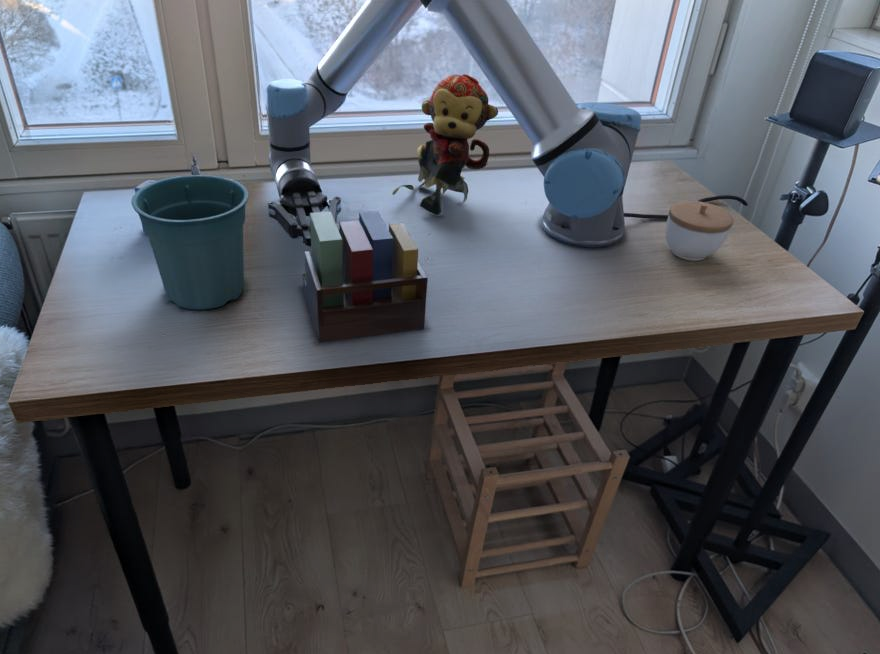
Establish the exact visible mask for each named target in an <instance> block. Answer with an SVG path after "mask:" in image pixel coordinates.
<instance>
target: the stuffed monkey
mask: <svg viewBox="0 0 880 654" xmlns="http://www.w3.org/2000/svg"><path fill="white" fill-rule="evenodd" d="M421 111H422V113H423V114H424V115H426V116H430V119H431V121H432V122H426V123H424V125H423V129H424V130H425V132H426V133H428V134H429V137H430V140H427V141H426V142H425V143H424V144H421V145H419V146H418V148H417V162H418V165H419V174H418V178H417V181H418V182H419V183H421V184H420V185H419V186H418V187H417V189H420V188H422V187H423V186H424V188H425V189H428V188H431V187H433V186H434V185H435V191H434V192H433V193H432V194H431V195H428V196H426V197H424V198H423V199H422V200H421V202H420V203H419V206H420V208H422V209H423V210H425V211H426V212H428V213H430V214H431V215H435V216H437V217H440V216H441V215H442V213H443V200H442V195H444V194H445V193H446V192H447V191H448V190H449V191H452V192H455V193H461V194H463V200H462V202H461V204H463V203H465V202H466V201H467V200H468V194H469V186H468V183H467V182H466V181H465V177H464V176H462V175H461V174H462V170H463V169H464V168H465V167H466V168H468V169H470V170H480V169H484V168H485V167H486V166H487V164H488V162H489V158H490V148H489V146H488V144H487V143H486V142H484V141H482V140H481V139H479V138H474V139H473V137H474V136H475V135H476V132H477V131H478V130H480V129H482V128H483V127H484V126H485V125H486V124H487V122H488V121H490V120H493V119H495V118H496V117H497V116H498V115H499V109H498V108H497V106H494V105H492V104H489V96H488V94H487V92H486V91H485V90H484V89H483V87H482V86H481V85H480V81H478V80H477V78H475V77H473V76H471V75H469V74H465V73H463V74H462V75H461V74H452V75H449V76H447V77H445V78H443V79H441V81H439V82H438V83H437V85H436V86H435V87H434V90H433V91H432V93H431V96H430V98H429V100H428V99H427V100H424V101H423V102H422V103H421ZM468 139H472V140H471V142H470V144H469V141H468ZM476 146H478V147H479V148H480V149H481V150H482V154H481V157H480V158H478V159H474V158H473V159H472V158H471V157H470V156H469V155H470V151H471V152H472V151H474V150H475V148H476ZM401 187H404V188H406V189H408V190H411V191H415V190H416V188H415V187H414V185H413V184H403V185H399V186H398V187H396V188H395V189H394V190H393V191H392V195H393V196H394V195H396V194H397V193H398V191H399V190H400V188H401ZM441 191H442V192H441Z"/></svg>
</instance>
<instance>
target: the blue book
mask: <svg viewBox="0 0 880 654" xmlns="http://www.w3.org/2000/svg"><path fill="white" fill-rule="evenodd" d="M358 220H359V222H360V224H361V226H362V228H363V230H364V232H365V234H366V236H367V238H368V240H369V242H370V244H371V247H372V249H373V281H377V280H386V279H392V253H393V238H392V236H391V234H390V232H389V227H388V226H387V225H386V223H385V221H384V219H383V217H382V215H381V214H380V212H379V210H374V211H361V212H358ZM383 297H391V288H384V289H375V290H373V292H372V299H375V298H383Z"/></svg>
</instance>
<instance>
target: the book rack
mask: <svg viewBox="0 0 880 654" xmlns="http://www.w3.org/2000/svg"><path fill="white" fill-rule="evenodd" d="M303 255H304V271H305V272H304V273H302V274H301V275H302V277H301V278H302V289H303V292H304V296H305V300H306V302H307V306H308V310H309V313H310V316H311V320H312V323H313V326H314V330H315V333H316V336H317V340H318V343H320V344H321V343H328V342H335V341H343V340H349V339H356V338H364V337H365V338H366V337H373V336H381V335H388V334H394V333H402V332H411V331H417V330H424V329H425V322H426V308H427V307H426V306H427V293H428V279H429V278H428V275H427V274H426V273H425V272H426V271H425V270H424V269H423V267H422V266H421V264H420V262H419V261H418V267H417V276H413V277H404V278H395V279H386V280H377V281H368V282H360V283H351V284H342V285H333V286H324V287H321V284H320V281H319V278H318V275H317V272H316V269H315V267H314V264H313V261H312V254H311V252H310V251H309V250H308V251H304V252H303ZM410 285H416V298H410V299H401V300H398V298H397V296H396V294H395V292H394V290H393V288H392V287H401V286H410ZM384 288H391V297H383V298H375V299H372V303H368V304H360V305H351V306H349V304H348V301H347V299H346V296H345V293H349V292H358V291H366V290H375V289H384ZM341 293H343V295H344V305H338V306H330V307H323V295H332V294H341Z"/></svg>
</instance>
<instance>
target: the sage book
mask: <svg viewBox="0 0 880 654" xmlns="http://www.w3.org/2000/svg"><path fill="white" fill-rule="evenodd" d="M309 225H310V231H311V246H310V247H311V248H310V249H311V258H312V261H313V264H314V267H315V269H316V272H317V275H318V278H319V281H320V284H321V287H324V286H333V285H342V284H343V246H342V237H341V235H340V233H339V227H338V226H337V222H336V223H335V221H334V218H333V216H332V213H331V211H329V210H328V211H321V212H317V213H310V216H309ZM338 305H344V295H343V293H341V294H332V295H323V307H330V306H338Z"/></svg>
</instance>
